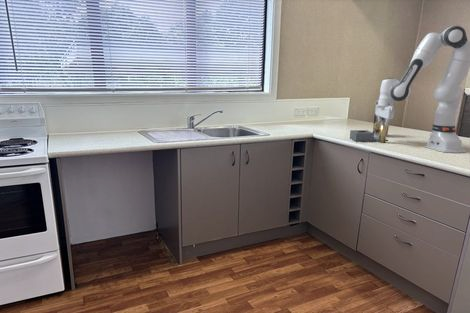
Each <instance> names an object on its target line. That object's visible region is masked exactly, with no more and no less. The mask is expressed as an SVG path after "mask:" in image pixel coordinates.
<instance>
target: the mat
mask: <svg viewBox="0 0 470 313" xmlns="http://www.w3.org/2000/svg"><path fill="white" fill-rule="evenodd" d="M373 142H379V137H378V136H374V141H373ZM385 142H388V139H386V140H385Z"/></svg>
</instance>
